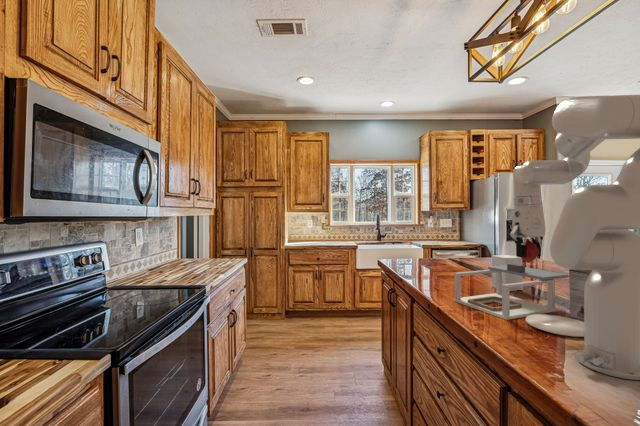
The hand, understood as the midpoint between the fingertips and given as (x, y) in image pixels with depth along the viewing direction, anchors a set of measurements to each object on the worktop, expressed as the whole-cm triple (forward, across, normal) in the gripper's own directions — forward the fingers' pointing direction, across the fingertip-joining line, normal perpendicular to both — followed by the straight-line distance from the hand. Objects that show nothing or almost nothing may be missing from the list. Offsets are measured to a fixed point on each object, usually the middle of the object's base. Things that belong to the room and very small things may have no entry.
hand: (528, 256), depth 103 cm
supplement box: (+19, +30, +31) cm, 47 cm away
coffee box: (+21, +19, -7) cm, 29 cm away
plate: (+21, +1, -8) cm, 23 cm away
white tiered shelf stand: (+20, +4, +14) cm, 25 cm away
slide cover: (+8, +17, +13) cm, 23 cm away
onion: (+2, 0, 0) cm, 2 cm away
